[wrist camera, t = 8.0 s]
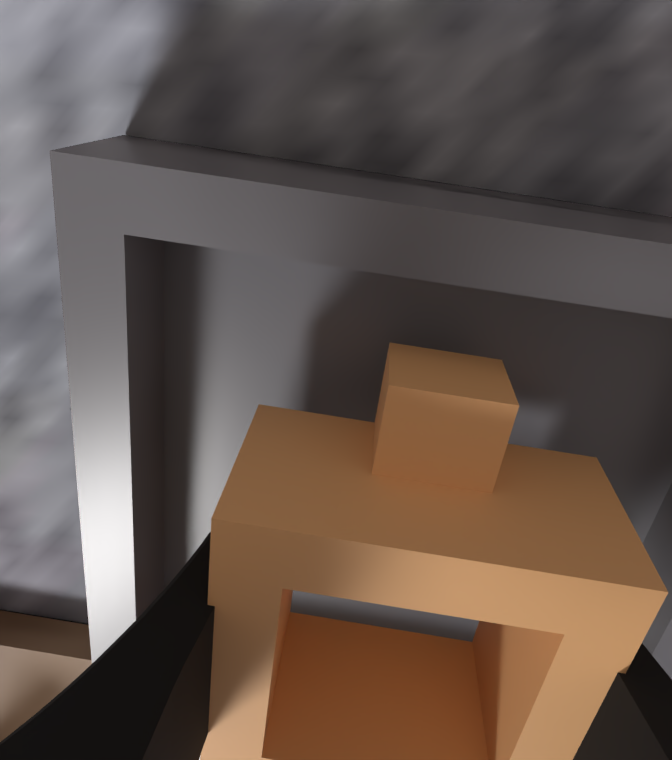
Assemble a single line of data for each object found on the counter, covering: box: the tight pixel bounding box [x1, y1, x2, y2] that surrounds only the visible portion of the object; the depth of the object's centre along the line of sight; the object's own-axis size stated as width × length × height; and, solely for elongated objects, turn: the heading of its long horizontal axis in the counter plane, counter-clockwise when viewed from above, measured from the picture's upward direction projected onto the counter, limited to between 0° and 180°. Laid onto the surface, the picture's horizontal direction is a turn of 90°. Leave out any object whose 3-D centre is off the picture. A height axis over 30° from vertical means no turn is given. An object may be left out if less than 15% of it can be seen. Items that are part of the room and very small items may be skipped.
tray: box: [50, 135, 672, 679], centre depth 12 cm, size 12×12×2 cm
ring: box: [200, 343, 668, 760], centre depth 10 cm, size 7×6×3 cm
